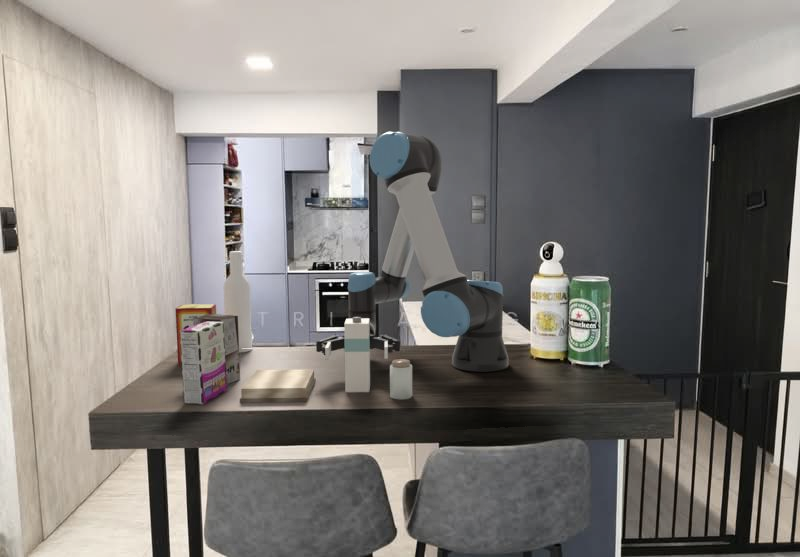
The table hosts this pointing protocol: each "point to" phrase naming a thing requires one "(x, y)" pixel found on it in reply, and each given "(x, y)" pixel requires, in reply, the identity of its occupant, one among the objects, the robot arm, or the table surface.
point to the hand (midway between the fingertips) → (356, 353)
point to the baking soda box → (190, 319)
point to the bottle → (239, 300)
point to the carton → (357, 354)
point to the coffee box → (227, 342)
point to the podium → (278, 386)
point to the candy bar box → (203, 362)
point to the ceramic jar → (400, 379)
